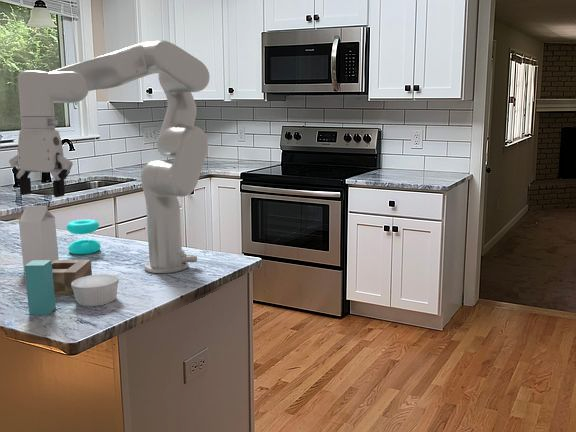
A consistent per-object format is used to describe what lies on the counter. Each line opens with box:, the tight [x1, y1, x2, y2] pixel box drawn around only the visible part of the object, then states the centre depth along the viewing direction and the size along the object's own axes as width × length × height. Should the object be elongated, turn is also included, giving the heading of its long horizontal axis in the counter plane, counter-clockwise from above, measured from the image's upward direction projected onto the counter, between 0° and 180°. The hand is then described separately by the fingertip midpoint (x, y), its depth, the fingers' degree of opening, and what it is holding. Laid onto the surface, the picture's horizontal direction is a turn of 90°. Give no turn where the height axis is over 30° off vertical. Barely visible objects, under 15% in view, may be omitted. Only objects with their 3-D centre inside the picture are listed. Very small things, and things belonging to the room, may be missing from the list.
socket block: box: [51, 259, 93, 296], centre depth 164 cm, size 12×12×6 cm
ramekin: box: [71, 273, 120, 307], centre depth 154 cm, size 11×11×5 cm
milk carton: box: [18, 204, 60, 272], centre depth 181 cm, size 7×7×19 cm
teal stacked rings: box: [66, 218, 101, 255], centre depth 201 cm, size 10×10×10 cm
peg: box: [23, 260, 57, 316], centre depth 146 cm, size 4×4×12 cm
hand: (42, 195), depth 150 cm, fingers open, 9 cm apart
